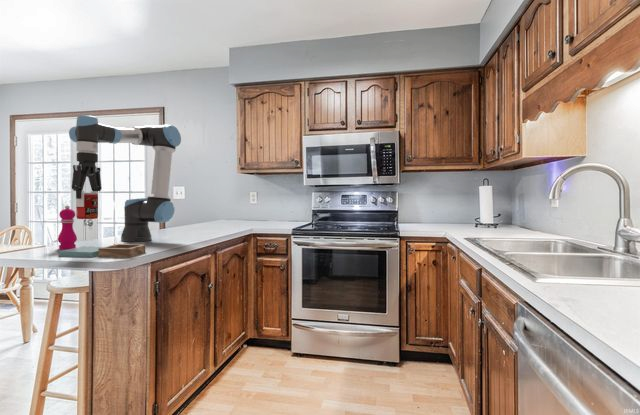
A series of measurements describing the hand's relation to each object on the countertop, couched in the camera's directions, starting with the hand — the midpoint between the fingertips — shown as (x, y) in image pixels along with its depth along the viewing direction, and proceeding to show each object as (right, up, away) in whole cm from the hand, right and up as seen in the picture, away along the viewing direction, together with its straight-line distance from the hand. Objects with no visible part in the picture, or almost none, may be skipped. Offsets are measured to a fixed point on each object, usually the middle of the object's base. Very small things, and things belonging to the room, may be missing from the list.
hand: (87, 206), depth 150 cm
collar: (+15, -21, +1) cm, 25 cm away
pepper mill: (-18, -20, +13) cm, 30 cm away
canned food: (0, -5, 0) cm, 5 cm away
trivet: (0, -20, +1) cm, 20 cm away
